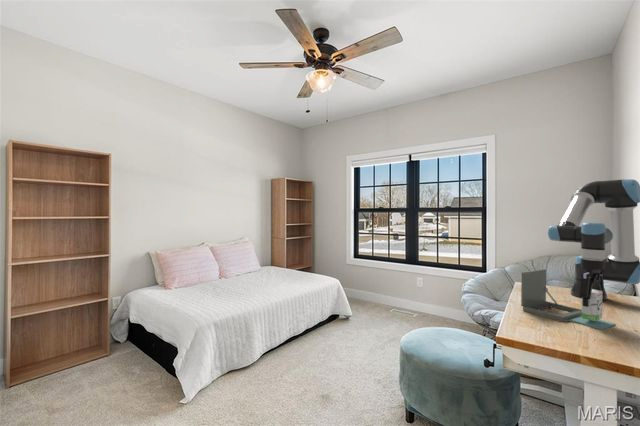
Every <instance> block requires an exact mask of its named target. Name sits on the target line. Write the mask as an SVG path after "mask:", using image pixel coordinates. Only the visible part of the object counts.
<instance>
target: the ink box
mask: <svg viewBox="0 0 640 426" xmlns="http://www.w3.org/2000/svg"><path fill="white" fill-rule="evenodd" d="M602 292H603V291H600V290H595V289H592V292H591V296H590V299H591V315H588V314H584V313H582V318H583V319H588V320H592V321H598V320H602V319H603V300H602V294H603V293H602Z"/></svg>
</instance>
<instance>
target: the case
mask: <svg viewBox="0 0 640 426" xmlns="http://www.w3.org/2000/svg"><path fill="white" fill-rule="evenodd" d="M520 285H521V287H520V289H521V290H520V291H521V295H520V296H521V297H520V299H521V300H520V302H521V304H520V305H521V307H522V311H523V312H525V313H526V312H527V313H530V314H533V315H537V316H541V317H544V318H548V319H551V320H555V321H558V322H562V323H563V322H566V321H569V319H572V318H575V317H579V316H582V308H581V309H580V308H577V307H572V306H568V305H565V304H559V303H558V302H557V301H556V299H555V298H554V297H553V296H552V294H551V293H550V292H549V288H548V287H547V269H545V268H543V269H537V270H530V271H529V270H528V271H522V272H521V284H520ZM547 295H548V296H549V297H550V299H551V300H552V302H551V301H548V300H547ZM547 308H554V309H558V310H561V311H565V312H567V313H563V314H560V315H558V314H554V313H552V312H547V311H543V310H542V309H547Z"/></svg>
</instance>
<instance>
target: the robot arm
mask: <svg viewBox="0 0 640 426" xmlns="http://www.w3.org/2000/svg"><path fill="white" fill-rule="evenodd" d="M594 204H604V208H606V209H607V210H608V211H609V215H608V216H609V228H608V227H606V225H605V224H604V222H603V223H602V222H600V223H599V222H583V223H582V221H583V219H584V217H585V215H586V213H587V212H588V209H589V208H590V207H592V206H593V205H594ZM638 204H640V183H639V181H637V179H634V178H633V179H624V178H623V179H611V180H596V181H595V180H594V181H590V182H588V183H586V184H584V185H582V186H580V187H578V189H576V190H575V191H574V192H573V193H572V195H571V196H570V203H569V205H568V206H567V208H566V210H565V212H564V214H563V215H562V217H561V219H560V221H559V222H558V224H556V225H550V226H549V227H548V231H547V235H548V238H549V240H551V241H555V242H561V243H562V242H565V243H566V242H567V243H580V246H581V247H580V249H581V250H579V253H580V255H578V256H576V257H575V263H574V265H575V266H574V282H573V285H572V287H571V290H570V294H571V296H574V297H577V298H580V299H581V310H582V313H584V314H588V315H591V299H590V296H591V292H592V289H595V290H600V291H603V292H602V293H603V294H602V301H607V300H608V294H607V291H606V289H605V283H604V281H609V282H614V283H620V284H621V283H623V284H631V285H639V284H640V257H638V256H637V255H636V253H635V251H636V250H635V248H636V247H635V227H634V226H635V225H634V224H635V221H634V209H636V208H637V207H638ZM580 225H581V226H580ZM608 243H610V252H611V253H609V254H608V255H607V258H606V244H608Z"/></svg>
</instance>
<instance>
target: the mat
mask: <svg viewBox="0 0 640 426" xmlns="http://www.w3.org/2000/svg"><path fill="white" fill-rule="evenodd" d="M568 321H569V322H572V323H576V324H579V325H584V326H586V327H590V328H594V329H596V330H597V329H598V330H601V331H603V330H606V329H608V328H611V327H613V326H616V323H614V322H610V321H606V320H602V319H599V320H598V321H592V320H588V319H583V318H582V316H579V317H575V318H572V319H569V320H568Z"/></svg>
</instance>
